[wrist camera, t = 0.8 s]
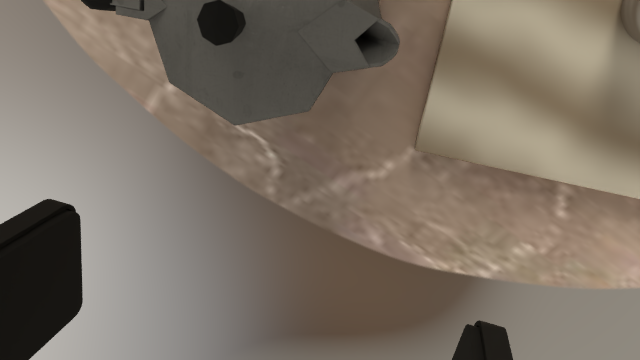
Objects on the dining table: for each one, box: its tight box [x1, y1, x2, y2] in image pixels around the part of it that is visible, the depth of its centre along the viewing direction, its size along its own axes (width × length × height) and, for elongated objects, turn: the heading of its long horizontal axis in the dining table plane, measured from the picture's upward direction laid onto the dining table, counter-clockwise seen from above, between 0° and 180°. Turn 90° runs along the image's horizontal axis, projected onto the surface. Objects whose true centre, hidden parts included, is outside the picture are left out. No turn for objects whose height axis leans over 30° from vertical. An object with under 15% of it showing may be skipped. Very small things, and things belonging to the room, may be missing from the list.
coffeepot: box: [81, 0, 400, 125], centre depth 26 cm, size 15×9×18 cm, turn 81°
